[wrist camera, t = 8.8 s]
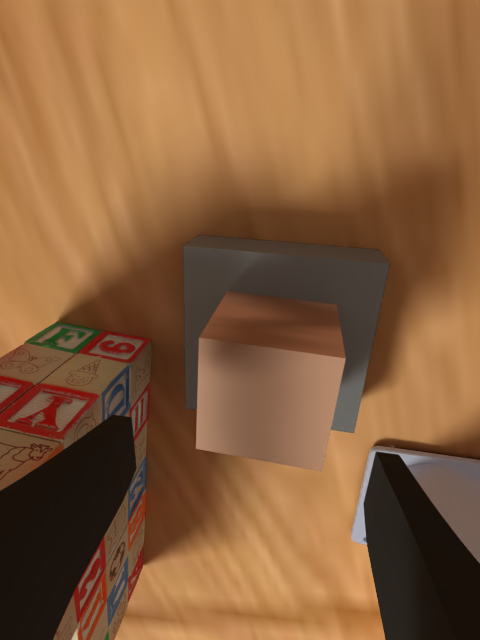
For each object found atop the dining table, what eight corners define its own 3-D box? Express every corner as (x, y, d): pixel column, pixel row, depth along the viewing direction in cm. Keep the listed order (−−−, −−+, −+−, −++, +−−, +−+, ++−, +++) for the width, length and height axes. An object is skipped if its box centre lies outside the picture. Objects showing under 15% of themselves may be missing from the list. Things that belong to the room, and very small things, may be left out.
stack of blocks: (146, 566, 31) (56, 791, 20) (75, 547, 32) (-50, 756, 21) (152, 336, 23) (-1, 513, 11) (54, 317, 23) (-182, 468, 12)
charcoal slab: (378, 247, 19) (389, 263, 16) (348, 399, 22) (353, 433, 20) (200, 233, 20) (183, 245, 17) (200, 379, 24) (185, 408, 21)
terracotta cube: (336, 304, 17) (346, 358, 13) (319, 396, 19) (322, 471, 15) (227, 290, 18) (199, 337, 13) (222, 381, 20) (195, 448, 15)
